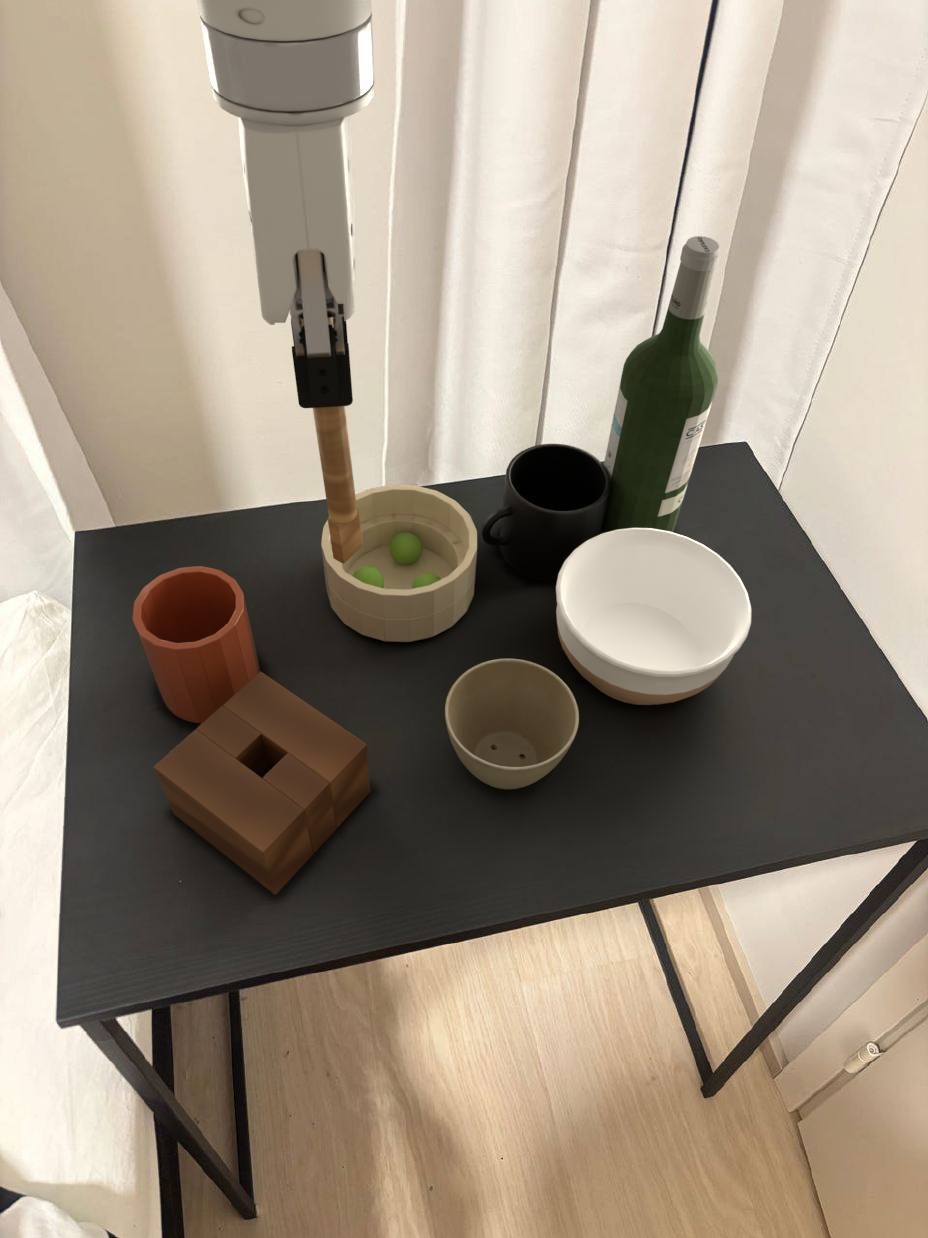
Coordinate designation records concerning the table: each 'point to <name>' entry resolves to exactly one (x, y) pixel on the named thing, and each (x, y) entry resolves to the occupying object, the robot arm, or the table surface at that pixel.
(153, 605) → the crock
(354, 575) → the pea
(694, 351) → the wine bottle
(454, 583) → the mixing bowl
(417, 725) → the table surface
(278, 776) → the holder
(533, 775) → the flower pot
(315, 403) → the robot arm
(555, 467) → the mug
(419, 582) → the pea
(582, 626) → the bowl
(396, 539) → the pea
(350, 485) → the wooden dowel peg
